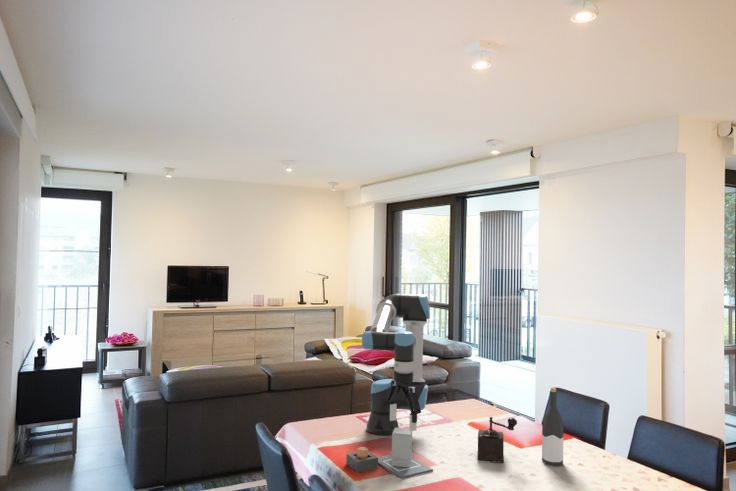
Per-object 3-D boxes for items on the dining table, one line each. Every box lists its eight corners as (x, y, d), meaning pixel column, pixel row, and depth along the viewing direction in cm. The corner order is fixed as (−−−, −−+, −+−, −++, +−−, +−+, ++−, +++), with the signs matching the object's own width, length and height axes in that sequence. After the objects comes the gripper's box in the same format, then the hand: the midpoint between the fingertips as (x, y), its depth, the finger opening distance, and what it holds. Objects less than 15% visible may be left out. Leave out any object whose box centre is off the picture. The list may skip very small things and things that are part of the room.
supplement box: (410, 467, 198) (410, 434, 199) (390, 465, 200) (391, 432, 200) (412, 460, 206) (412, 428, 206) (393, 458, 207) (394, 426, 207)
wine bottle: (562, 460, 212) (563, 386, 212) (563, 467, 204) (564, 391, 205) (542, 457, 214) (542, 384, 215) (541, 464, 207) (542, 389, 207)
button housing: (346, 464, 203) (346, 453, 203) (366, 460, 208) (366, 449, 208) (357, 472, 195) (357, 461, 195) (377, 468, 200) (378, 457, 200)
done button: (354, 458, 202) (354, 448, 202) (364, 456, 204) (364, 446, 205) (360, 462, 198) (360, 452, 198) (369, 460, 201) (370, 450, 201)
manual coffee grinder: (477, 461, 209) (477, 416, 209) (477, 451, 220) (478, 408, 220) (516, 465, 205) (517, 419, 206) (515, 455, 216) (516, 412, 216)
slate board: (372, 460, 207) (372, 458, 207) (402, 453, 215) (402, 451, 215) (400, 479, 190) (400, 476, 190) (432, 471, 198) (432, 468, 198)
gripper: (378, 365, 212) (377, 417, 212) (414, 379, 191) (413, 437, 191) (393, 364, 216) (392, 414, 216) (430, 377, 195) (429, 433, 195)
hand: (402, 425), depth 203 cm, fingers open, 13 cm apart
